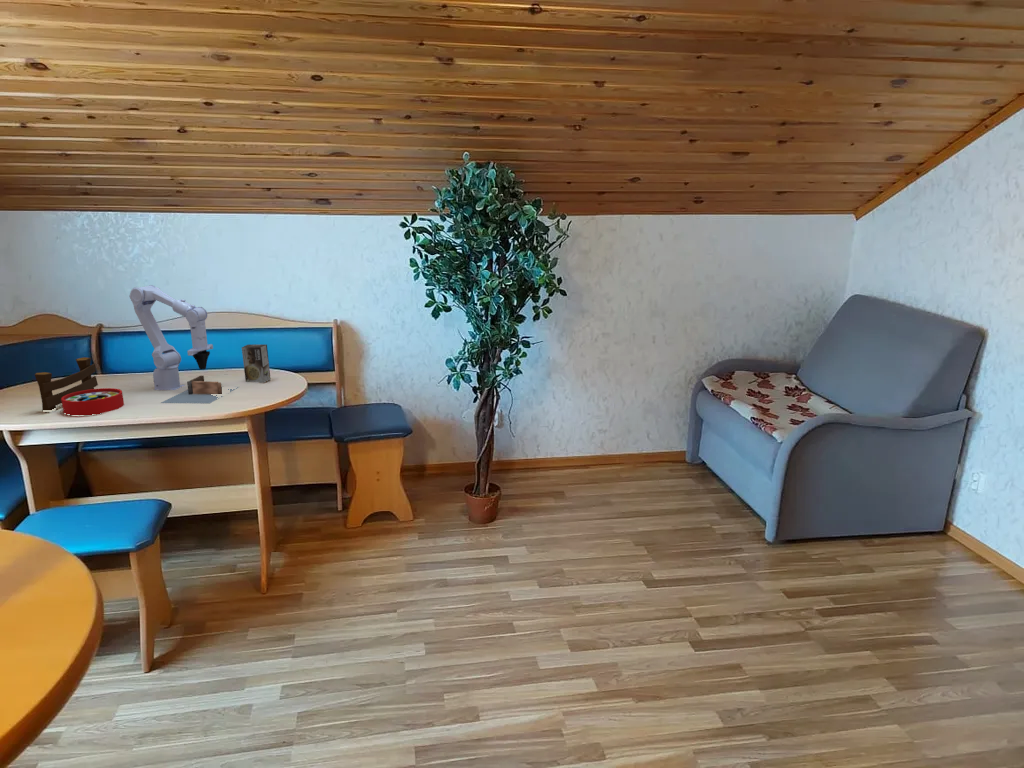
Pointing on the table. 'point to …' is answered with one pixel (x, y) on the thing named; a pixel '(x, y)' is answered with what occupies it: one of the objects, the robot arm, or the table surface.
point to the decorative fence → (65, 383)
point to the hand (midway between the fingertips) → (202, 369)
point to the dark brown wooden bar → (189, 383)
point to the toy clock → (92, 401)
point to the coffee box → (256, 363)
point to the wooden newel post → (206, 387)
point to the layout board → (192, 398)
